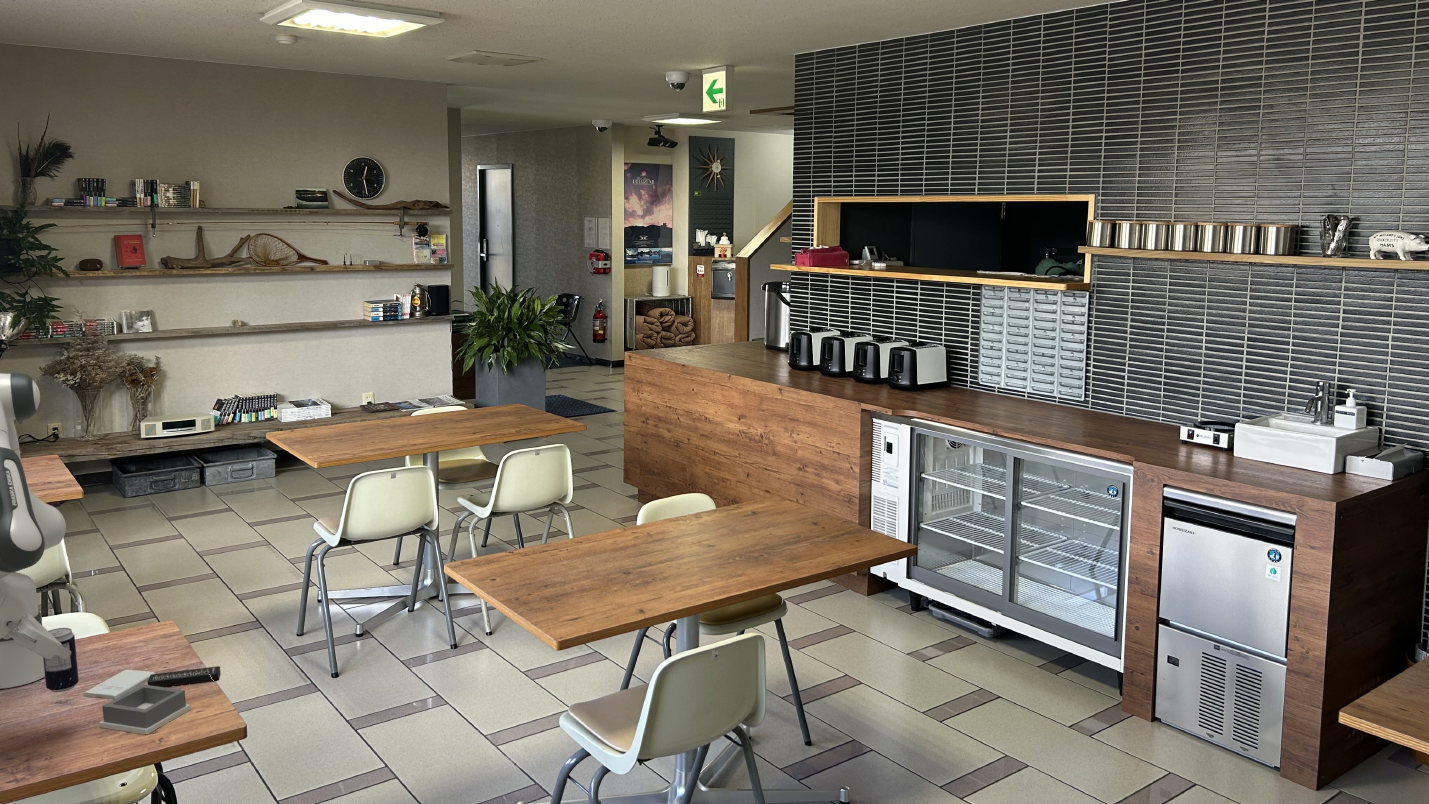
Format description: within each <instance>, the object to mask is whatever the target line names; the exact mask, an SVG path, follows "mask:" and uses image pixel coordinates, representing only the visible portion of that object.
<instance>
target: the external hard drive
mask: <svg viewBox="0 0 1429 804" xmlns="http://www.w3.org/2000/svg"><path fill="white" fill-rule="evenodd" d="M151 674H157V673H156V672H154V671H146V670H145V671H144V670H135V669H124V670H123V671H120V672H118V673H117V674H114V675H113V676H112V677H110V678H108V679H105V680H104V681H102V682H100V683H99V684H97V685H95V686H94V687H91V688H89V689H88V690H86V691H84V692H83V693H82V694H83V697H86V698H87V697H88V698H101V699H108V700H115V699H117V698H118V697H120V696H122V695H124V694H126V693H128V692H130V691H132V690H134V689H136V688H138V687H139V686H141V685H143V684H144V685H145V683H148V682H147V681H148V679H149V677H150V675H151Z"/></svg>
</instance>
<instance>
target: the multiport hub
mask: <svg viewBox="0 0 1429 804" xmlns="http://www.w3.org/2000/svg"><path fill="white" fill-rule="evenodd" d="M209 674H210V675H211V677H212V679H213V680H214V681H215V682H218V681H220V679H221V678H220V677H221V675H222V673H221V666H220V665H219V666H218V665H217V666H209V667H202V668H193V669H184V670H175V671H169V672H168V671H166V672H158V673H156V674H151V675H150V677H149V679H148V681H147V682H146V683H147V685H151V686H158V687H165V688H166V687H167V688H173V687H172V686H175V687H182V686H181V685H183V686H190V685H197V684H198V683H199V684H206V683H214V681H213V680H212V679H211V677H210V675H209ZM189 684H190V685H189Z"/></svg>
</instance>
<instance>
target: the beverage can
mask: <svg viewBox="0 0 1429 804" xmlns="http://www.w3.org/2000/svg"><path fill="white" fill-rule="evenodd" d="M47 631H48V632H49V633H51V634H52V635H53V636H54V637H55V638H56V639H57V640H58V641H59V642H60V643H61V644H62V646H63V647H65V648H67V649H69V650H70V651H71V655H70V656H69V657H68V658H67V659H63V658H61V657H59V656H57V655H54V656H53V657H52V658H51V659H46V658H44V657H43V661H44V671H45V677H44V679H45V688H46V689H47V690H49V691H51V692H52V693H63V692H64V693H65V692H67V691H70V690H72V689H74V688H75V687H76V685H77V684H78V683H79V681H80V679H79V670H78V669H79V668H78V659H77V647H76V639H75V634H74V632H73V631H72V628H69V627H58V628H53V629H49V630H47Z"/></svg>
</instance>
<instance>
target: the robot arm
mask: <svg viewBox="0 0 1429 804" xmlns="http://www.w3.org/2000/svg"><path fill="white" fill-rule="evenodd" d="M40 401H41V393H40V389H39V387H38V384H36V382H35V381H34V377H32V376H31V375H29V374H28V373H23V372H10V373H2V372H1V373H0V689H8V688H9V689H10V688H14V687H20V686H23V685H27V684H31V683H34V682H36V681H38V680H40V679H43V678H45V671H44V661H43V657H44V658H46V659H51V658H52V657H53V656H54V655H57V656H59V657H61V658H63V659H67V658H68V657H69V656H70V655H71V651H70V650H69V649H67V648H65V647H63V646H62V644H61V643H60V642H59V641H58V640H57V639H56V638H55V637H54V636H53V635H52V634H51V633H49V632H48V631H49V630H47V628H45V626H43V616H42V613H41V612H40V611H39V605H38V597H37V596H38V594H37V585H36V582H35V581H34V579H32V577H30V576H28V575H27V574H24V573H21V572H19V571H21V570H25V569H29V568H30V567H33V566H34V565H36V564H37V563H38V562H39V561H40V560H41V559H42V557H43V555H44V552H45V550H48V549H51V548H53V547H56V546H58V545H59V544H60V543H61V542H62V541H63V540H64V537H65V535H66V532H67V525H66V520H65V517H64V515H63V514H62V513H61V511H60V510H59V509H58V508H56V507H55V506H53V505H50V504H48V503H47V502H45V501H43V500H41V499H40V498H39V497H37V495H35V493H33V491H32V490H31V489H30V487H29V485H28V483H27V482H28V481H27V478H26V473H25V470H24V467H23V464H22V459H21V458H22V457H21V452H20V451H21V450H20V445H19V437H18V433H17V430H16V425H15V422H14V421H17V423H18V424H19V425H21V424H23V422H24V421H25V420H28V419H31V418H32V417H33V416H34V415H35V414H36V413H38V408H39V406H40Z"/></svg>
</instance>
